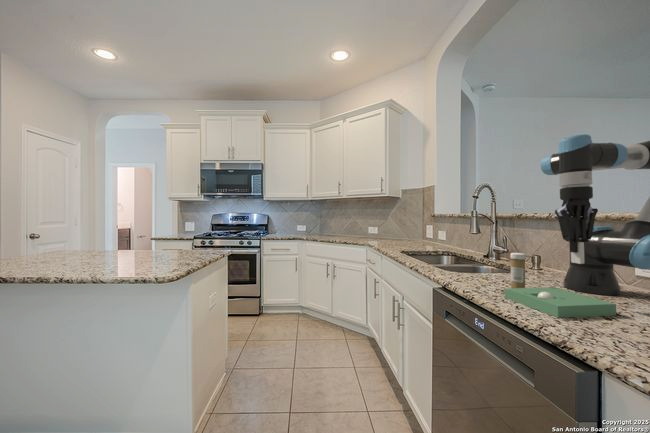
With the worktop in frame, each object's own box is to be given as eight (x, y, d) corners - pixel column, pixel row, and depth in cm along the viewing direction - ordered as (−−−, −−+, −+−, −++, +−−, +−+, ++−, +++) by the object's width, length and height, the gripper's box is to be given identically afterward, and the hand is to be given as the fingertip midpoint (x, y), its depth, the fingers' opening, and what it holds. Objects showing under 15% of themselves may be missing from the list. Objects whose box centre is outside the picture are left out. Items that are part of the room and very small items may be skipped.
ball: (532, 301, 84) (543, 304, 84) (544, 306, 80) (556, 308, 80) (535, 288, 84) (546, 291, 84) (547, 292, 80) (559, 295, 80)
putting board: (553, 296, 93) (553, 287, 93) (616, 315, 75) (616, 304, 75) (504, 297, 90) (504, 288, 90) (557, 317, 73) (557, 306, 73)
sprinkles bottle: (527, 290, 99) (527, 253, 99) (522, 292, 97) (522, 254, 97) (513, 288, 103) (513, 252, 103) (507, 289, 100) (508, 252, 101)
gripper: (569, 185, 80) (572, 266, 80) (607, 185, 82) (609, 263, 82) (545, 188, 88) (547, 262, 88) (580, 187, 89) (582, 259, 90)
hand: (577, 262), depth 85 cm, fingers closed
